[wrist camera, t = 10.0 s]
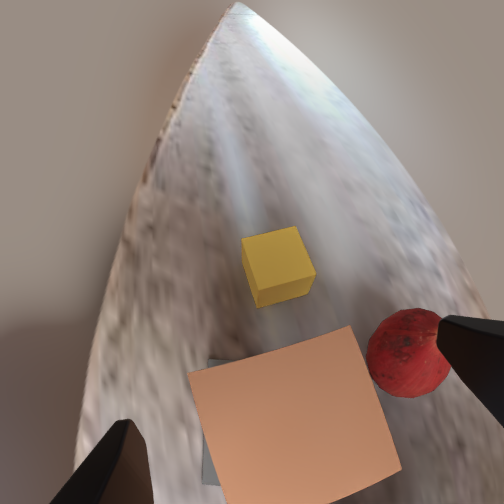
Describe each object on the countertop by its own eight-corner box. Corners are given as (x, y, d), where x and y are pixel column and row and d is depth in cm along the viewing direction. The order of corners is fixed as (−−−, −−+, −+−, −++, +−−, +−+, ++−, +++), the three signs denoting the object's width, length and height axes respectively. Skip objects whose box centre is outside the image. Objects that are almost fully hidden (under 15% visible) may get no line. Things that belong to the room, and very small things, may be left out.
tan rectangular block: (334, 450, 17) (402, 469, 9) (241, 480, 16) (237, 530, 8) (305, 367, 20) (350, 324, 12) (214, 393, 19) (187, 373, 11)
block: (307, 294, 23) (316, 274, 20) (256, 309, 23) (258, 290, 20) (289, 250, 25) (295, 225, 22) (241, 262, 25) (241, 238, 22)
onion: (344, 396, 19) (394, 380, 12) (358, 321, 22) (404, 273, 15) (414, 406, 19) (482, 391, 12) (423, 335, 22) (483, 295, 15)
